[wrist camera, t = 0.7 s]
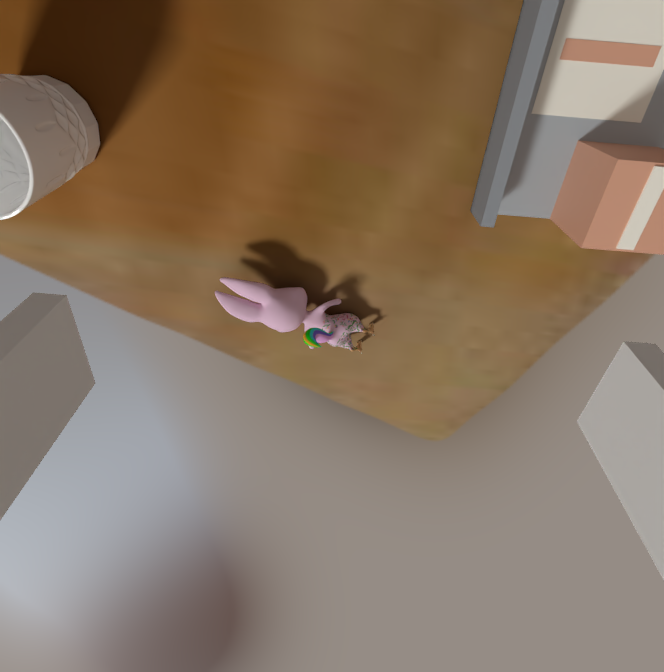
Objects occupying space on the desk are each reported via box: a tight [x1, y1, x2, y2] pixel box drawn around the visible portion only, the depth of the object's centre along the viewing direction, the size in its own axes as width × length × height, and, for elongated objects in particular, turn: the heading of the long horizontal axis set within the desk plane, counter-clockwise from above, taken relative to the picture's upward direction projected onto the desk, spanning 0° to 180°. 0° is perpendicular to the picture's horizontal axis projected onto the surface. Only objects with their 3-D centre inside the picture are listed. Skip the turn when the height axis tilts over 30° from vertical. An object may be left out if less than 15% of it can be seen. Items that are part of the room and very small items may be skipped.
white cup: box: [0, 74, 100, 220], centre depth 30 cm, size 8×8×10 cm
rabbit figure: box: [215, 277, 375, 354], centre depth 40 cm, size 6×6×15 cm
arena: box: [471, 0, 664, 227], centre depth 29 cm, size 22×13×4 cm, turn 176°
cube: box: [550, 140, 664, 255], centre depth 32 cm, size 6×6×6 cm
